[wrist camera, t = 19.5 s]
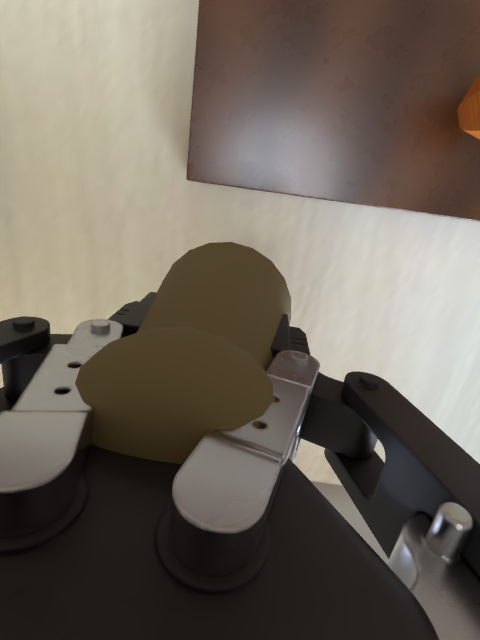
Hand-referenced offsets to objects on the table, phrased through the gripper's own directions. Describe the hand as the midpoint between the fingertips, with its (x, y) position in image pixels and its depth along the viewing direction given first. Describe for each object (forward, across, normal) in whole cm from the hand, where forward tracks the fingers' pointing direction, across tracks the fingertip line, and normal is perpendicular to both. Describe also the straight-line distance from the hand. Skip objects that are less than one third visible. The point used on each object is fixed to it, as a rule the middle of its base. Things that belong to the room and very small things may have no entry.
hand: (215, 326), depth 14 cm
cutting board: (+17, -7, -11) cm, 21 cm away
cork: (+2, 0, 0) cm, 2 cm away
